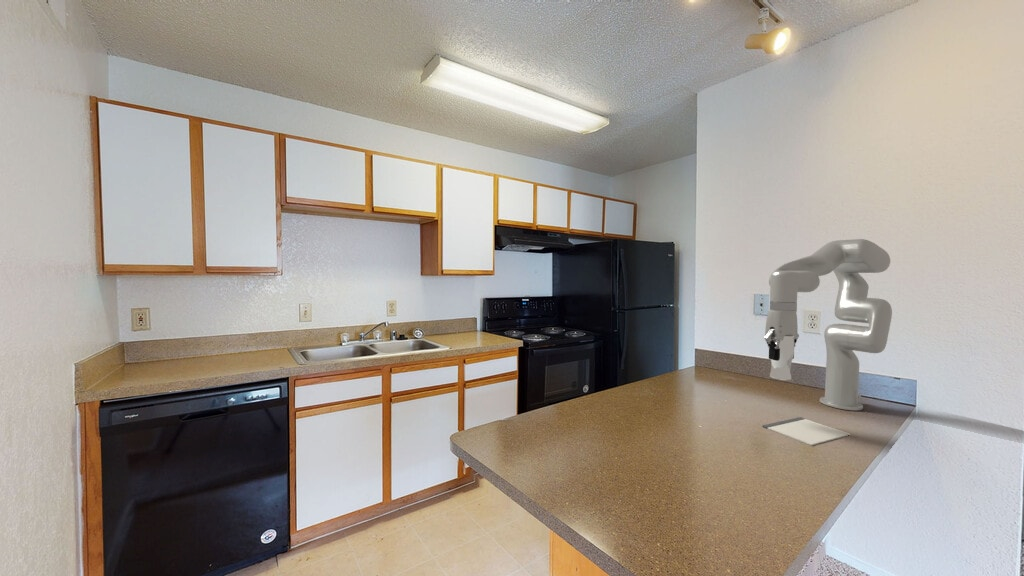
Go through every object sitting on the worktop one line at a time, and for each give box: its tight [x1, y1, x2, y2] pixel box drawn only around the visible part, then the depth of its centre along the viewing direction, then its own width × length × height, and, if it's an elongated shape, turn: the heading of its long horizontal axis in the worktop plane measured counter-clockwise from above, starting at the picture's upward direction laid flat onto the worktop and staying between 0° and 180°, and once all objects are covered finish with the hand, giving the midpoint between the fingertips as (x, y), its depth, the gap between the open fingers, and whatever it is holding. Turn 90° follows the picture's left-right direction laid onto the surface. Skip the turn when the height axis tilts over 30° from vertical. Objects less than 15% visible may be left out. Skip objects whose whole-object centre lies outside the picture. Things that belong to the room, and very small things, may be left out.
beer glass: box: [769, 335, 795, 381], centre depth 127 cm, size 7×7×15 cm
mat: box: [762, 416, 851, 446], centre depth 119 cm, size 20×14×1 cm
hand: (781, 358), depth 127 cm, fingers closed on beer glass, 6 cm apart
